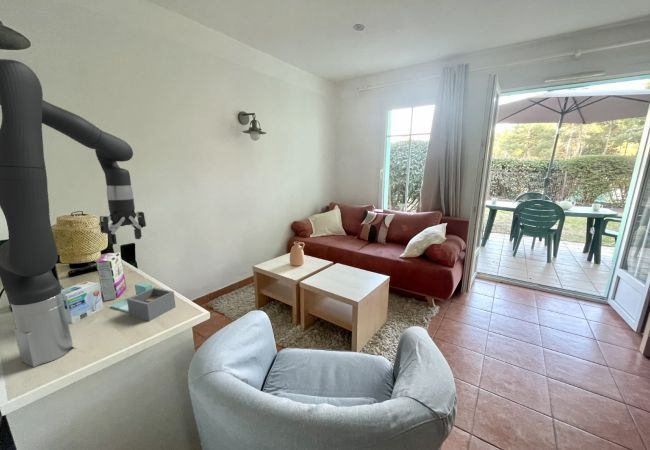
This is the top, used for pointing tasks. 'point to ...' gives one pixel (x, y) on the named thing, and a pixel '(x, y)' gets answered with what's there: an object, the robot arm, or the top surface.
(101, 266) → the candy bar box
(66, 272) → the top surface
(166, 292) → the tub
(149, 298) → the wood block
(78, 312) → the light bulb box
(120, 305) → the lid
